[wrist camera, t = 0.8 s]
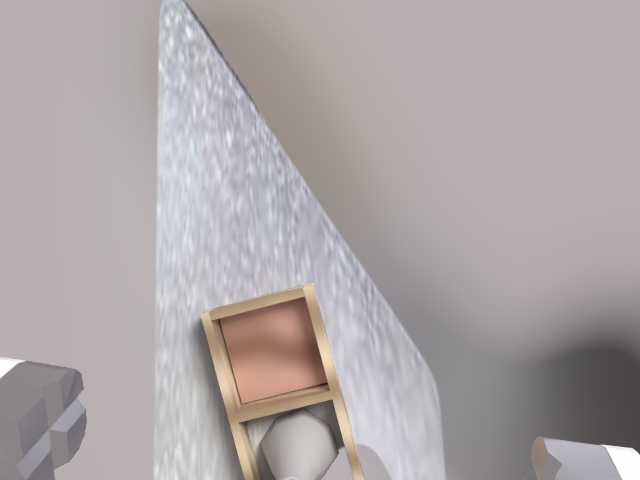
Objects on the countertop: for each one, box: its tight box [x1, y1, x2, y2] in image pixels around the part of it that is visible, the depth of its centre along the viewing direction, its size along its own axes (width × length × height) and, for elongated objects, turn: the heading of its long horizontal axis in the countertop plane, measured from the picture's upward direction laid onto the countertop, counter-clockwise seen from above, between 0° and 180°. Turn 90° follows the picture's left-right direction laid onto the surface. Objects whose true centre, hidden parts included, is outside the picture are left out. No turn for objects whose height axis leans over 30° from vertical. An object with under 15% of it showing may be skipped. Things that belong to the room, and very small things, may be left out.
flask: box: [260, 409, 339, 480], centre depth 48 cm, size 7×7×10 cm
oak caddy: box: [200, 283, 365, 480], centre depth 52 cm, size 20×11×2 cm, turn 15°
